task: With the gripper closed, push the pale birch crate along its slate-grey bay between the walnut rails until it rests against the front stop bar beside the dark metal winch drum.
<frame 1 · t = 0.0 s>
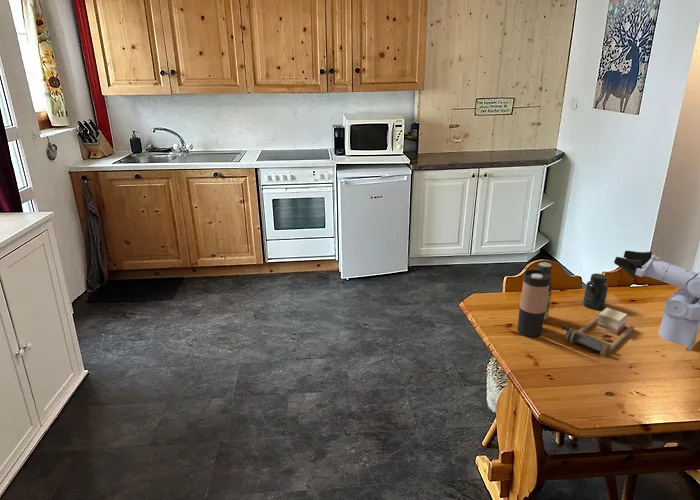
hand: (620, 256, 155), 22 cm above the table, tool horizontal, fingers open, 7 cm apart
bay: (602, 336, 152), on the table
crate: (611, 320, 154), point 3 cm above the table, slide at 0.0 cm
supplement bottle: (592, 308, 169), on the table
winch: (586, 350, 145), on the table
travel mug: (529, 332, 155), on the table
sauce bottle: (537, 320, 162), on the table
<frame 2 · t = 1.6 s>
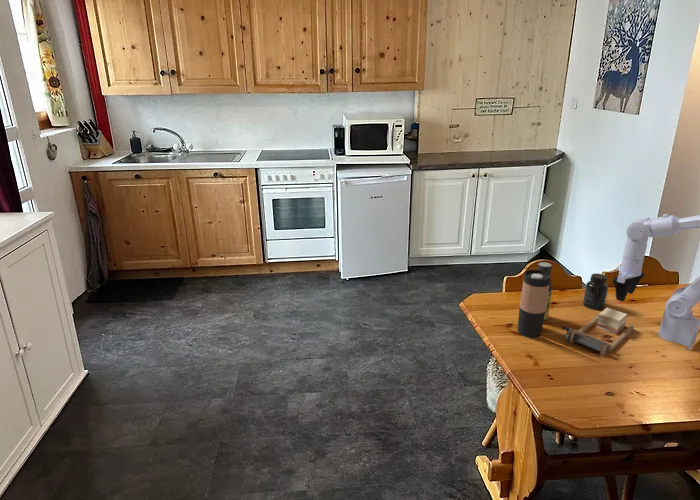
hand: (624, 296, 157), 9 cm above the table, tool pointing down, fingers open, 7 cm apart
nothing on the table moved.
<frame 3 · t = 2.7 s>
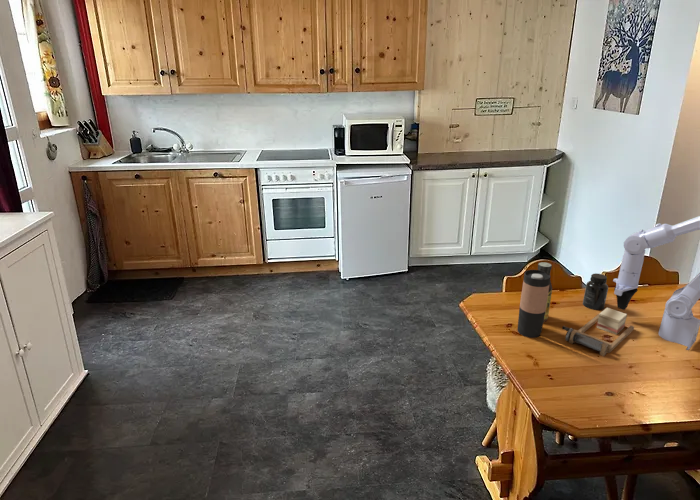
hand: (621, 308, 158), 5 cm above the table, tool pointing down, fingers closed
nothing on the table moved.
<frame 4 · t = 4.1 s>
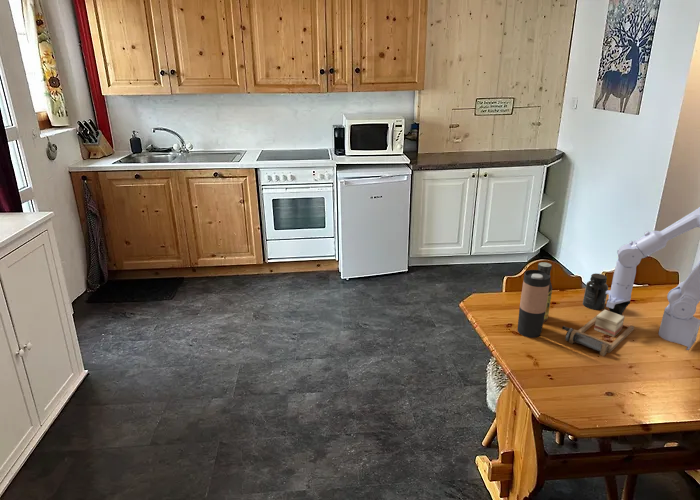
hand: (614, 320, 156), 2 cm above the table, tool pointing down, fingers closed
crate: (609, 323, 153), point 3 cm above the table, slide at 1.9 cm, touching gripper
everything else where it was.
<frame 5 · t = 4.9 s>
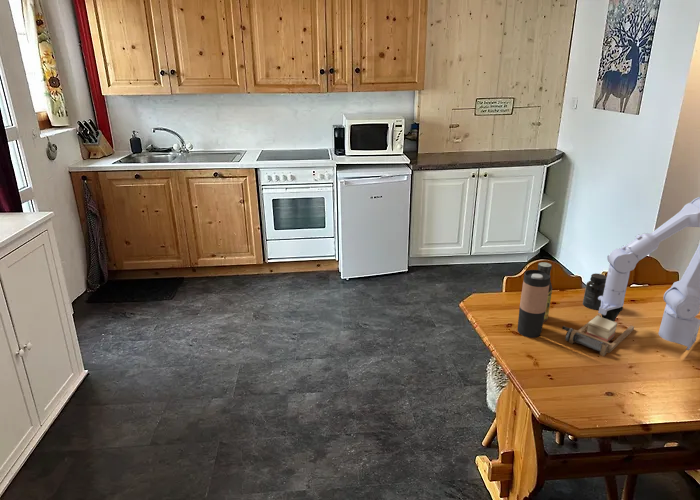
hand: (606, 327, 152), 2 cm above the table, tool pointing down, fingers closed
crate: (601, 329, 149), point 3 cm above the table, slide at 7.8 cm, touching gripper
everything else where it was.
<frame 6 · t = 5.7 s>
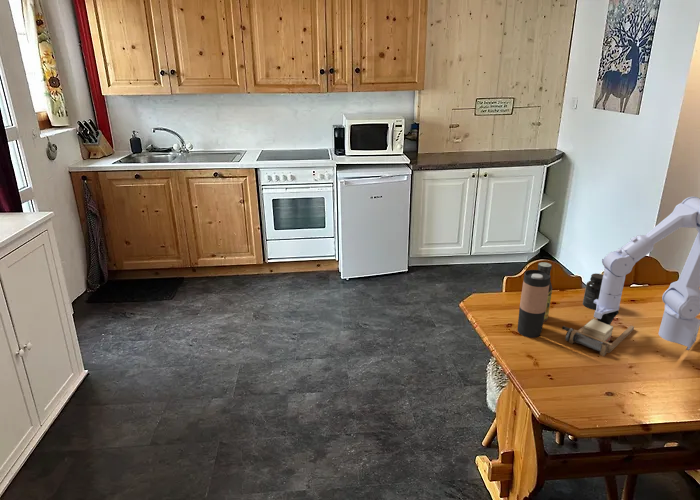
hand: (602, 330, 150), 2 cm above the table, tool pointing down, fingers closed
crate: (597, 333, 147), point 3 cm above the table, slide at 10.8 cm, touching gripper
everything else where it was.
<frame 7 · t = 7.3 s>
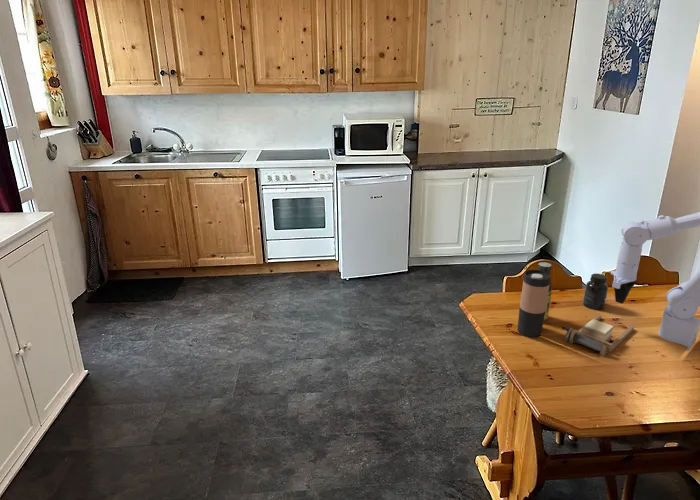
hand: (619, 301, 152), 10 cm above the table, tool pointing down, fingers closed
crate: (597, 333, 147), point 3 cm above the table, slide at 10.7 cm
everything else where it was.
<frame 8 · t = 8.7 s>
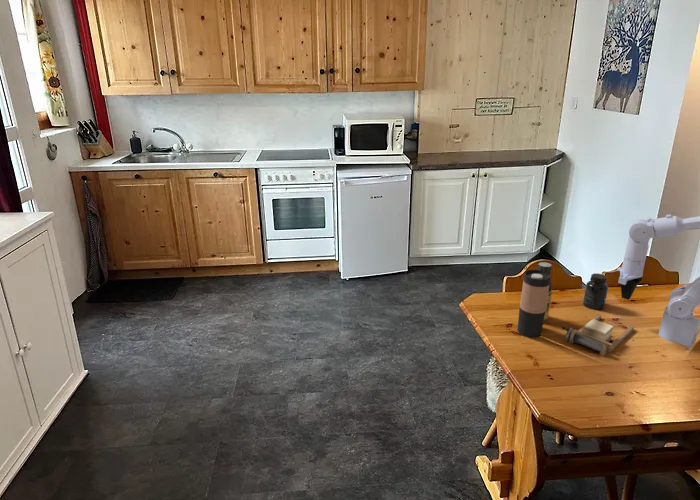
hand: (625, 298, 154), 10 cm above the table, tool pointing down, fingers closed
nothing on the table moved.
at the end: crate slide at 10.7 cm; the gripper is holding nothing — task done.
